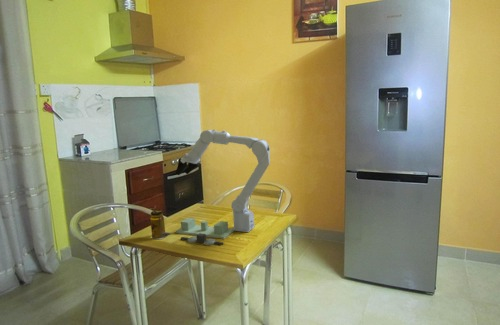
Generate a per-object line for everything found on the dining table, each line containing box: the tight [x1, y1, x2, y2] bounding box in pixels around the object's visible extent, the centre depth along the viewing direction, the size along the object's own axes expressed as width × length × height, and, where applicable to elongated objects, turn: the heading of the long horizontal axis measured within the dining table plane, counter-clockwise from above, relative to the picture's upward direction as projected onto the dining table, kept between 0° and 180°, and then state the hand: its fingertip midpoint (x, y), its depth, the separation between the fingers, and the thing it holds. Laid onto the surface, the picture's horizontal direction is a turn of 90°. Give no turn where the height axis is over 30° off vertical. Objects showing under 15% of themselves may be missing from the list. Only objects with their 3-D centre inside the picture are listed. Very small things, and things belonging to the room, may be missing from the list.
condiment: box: [149, 209, 172, 240], centre depth 154 cm, size 7×8×12 cm
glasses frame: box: [180, 233, 224, 246], centre depth 144 cm, size 21×5×3 cm, turn 67°
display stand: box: [174, 217, 235, 240], centre depth 156 cm, size 26×10×5 cm, turn 67°
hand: (181, 173), depth 160 cm, fingers open, 7 cm apart
